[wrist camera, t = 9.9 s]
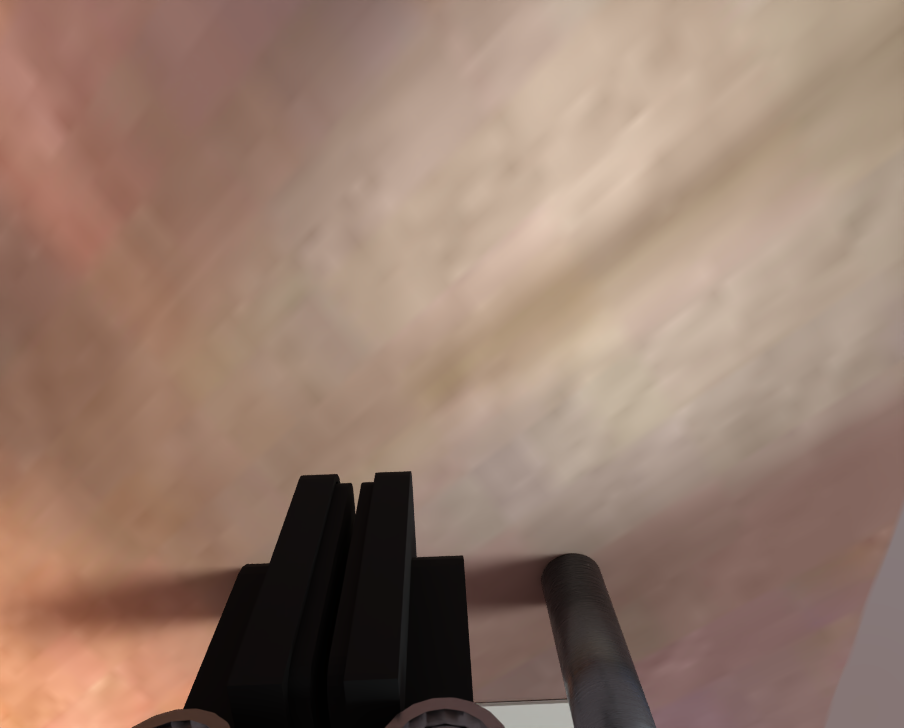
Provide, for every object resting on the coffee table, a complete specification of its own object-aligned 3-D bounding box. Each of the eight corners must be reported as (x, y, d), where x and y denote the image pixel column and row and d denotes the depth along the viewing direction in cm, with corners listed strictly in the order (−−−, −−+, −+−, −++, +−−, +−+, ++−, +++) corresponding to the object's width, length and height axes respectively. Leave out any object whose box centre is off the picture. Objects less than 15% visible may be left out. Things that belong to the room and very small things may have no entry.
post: (541, 554, 29) (586, 741, 20) (602, 552, 29) (672, 737, 20) (540, 603, 30) (583, 801, 21) (599, 601, 30) (664, 797, 21)
